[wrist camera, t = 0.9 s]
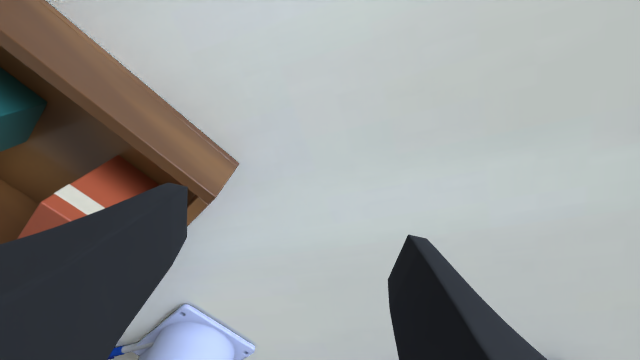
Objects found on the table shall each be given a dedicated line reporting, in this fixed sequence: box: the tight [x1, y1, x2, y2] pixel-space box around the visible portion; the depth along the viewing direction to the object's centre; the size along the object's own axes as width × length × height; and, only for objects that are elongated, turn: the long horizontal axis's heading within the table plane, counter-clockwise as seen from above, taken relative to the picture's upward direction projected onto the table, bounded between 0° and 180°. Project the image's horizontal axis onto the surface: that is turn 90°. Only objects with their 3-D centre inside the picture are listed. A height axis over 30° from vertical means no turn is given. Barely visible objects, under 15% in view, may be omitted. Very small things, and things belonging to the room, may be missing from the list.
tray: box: [0, 0, 239, 244], centre depth 18 cm, size 13×16×4 cm
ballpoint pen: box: [107, 342, 154, 360], centre depth 29 cm, size 10×1×1 cm, turn 114°
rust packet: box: [17, 155, 160, 239], centre depth 18 cm, size 4×4×6 cm
